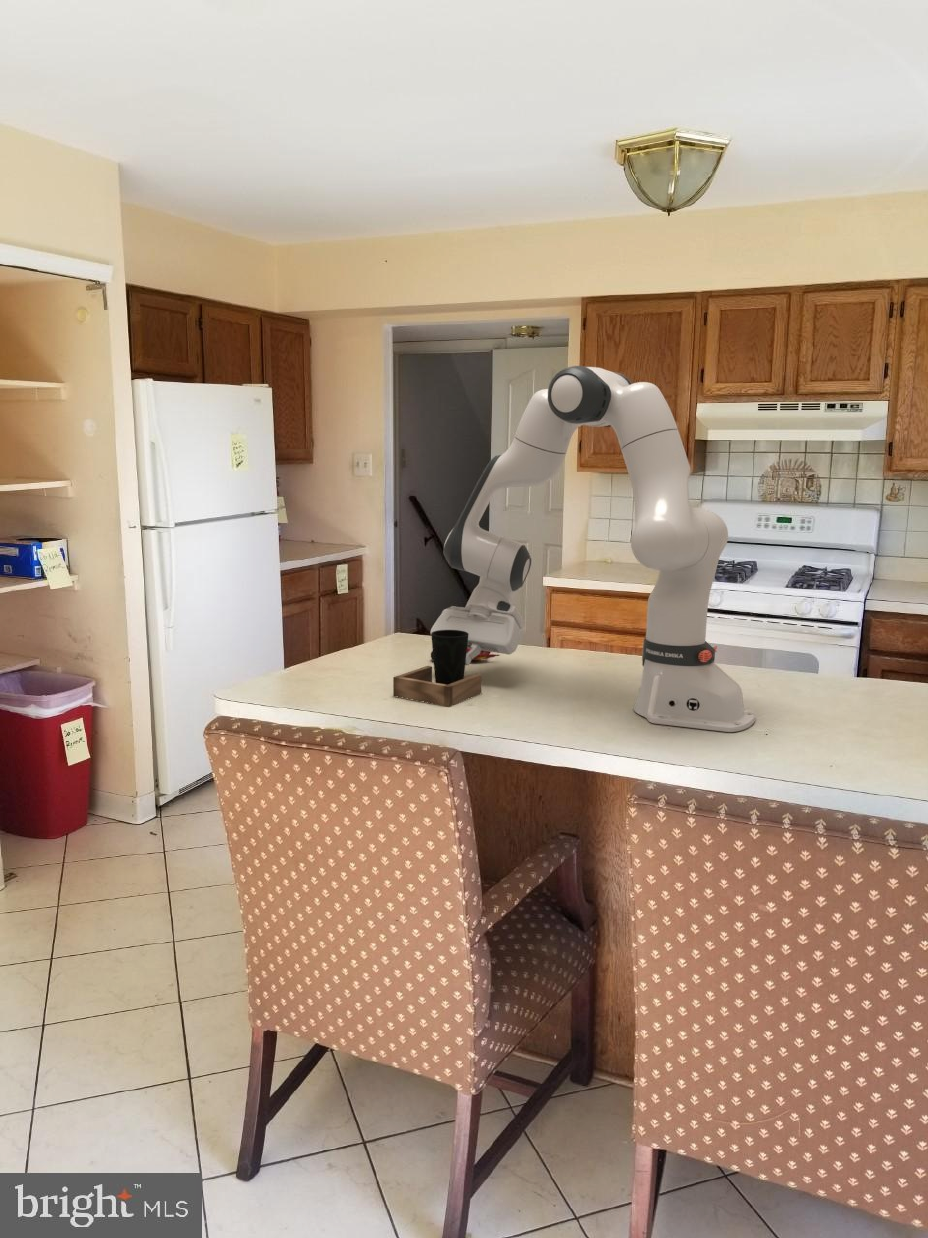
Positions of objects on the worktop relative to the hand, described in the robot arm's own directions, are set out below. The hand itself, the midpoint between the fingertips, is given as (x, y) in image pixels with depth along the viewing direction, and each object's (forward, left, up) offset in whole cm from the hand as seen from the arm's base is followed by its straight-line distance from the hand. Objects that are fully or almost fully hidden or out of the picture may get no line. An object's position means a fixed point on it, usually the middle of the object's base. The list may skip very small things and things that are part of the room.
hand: (461, 663), depth 198 cm
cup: (0, +4, -5) cm, 7 cm away
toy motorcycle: (+14, -27, -5) cm, 31 cm away
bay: (0, +9, -5) cm, 10 cm away
